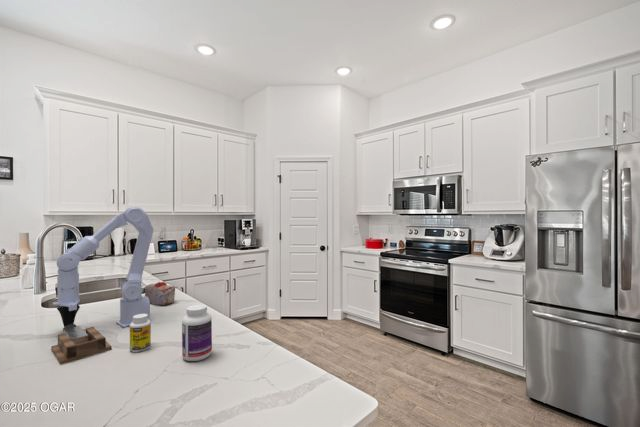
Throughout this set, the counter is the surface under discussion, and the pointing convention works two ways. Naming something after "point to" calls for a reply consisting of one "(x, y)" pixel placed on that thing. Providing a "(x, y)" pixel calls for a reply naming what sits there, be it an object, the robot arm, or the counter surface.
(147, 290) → the food item
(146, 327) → the supplement bottle
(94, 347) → the housing
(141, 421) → the counter surface
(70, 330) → the door stop
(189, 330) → the pill bottle
